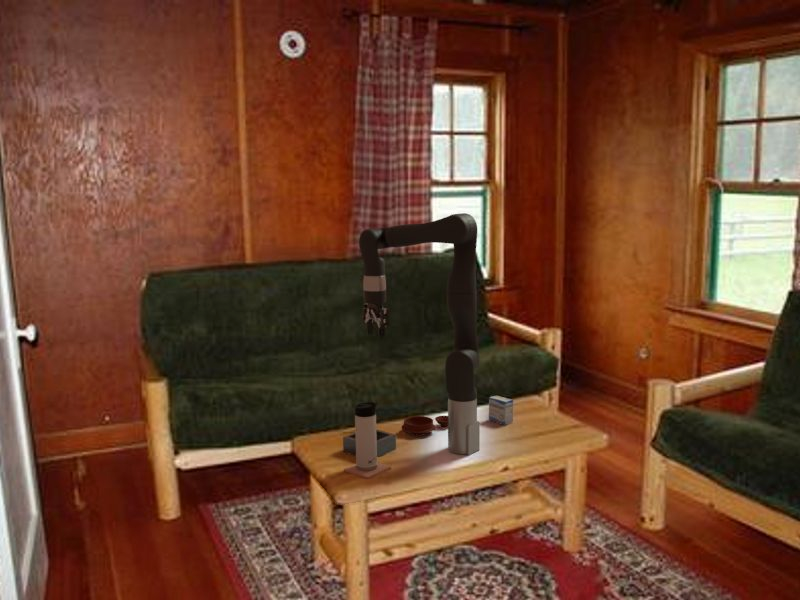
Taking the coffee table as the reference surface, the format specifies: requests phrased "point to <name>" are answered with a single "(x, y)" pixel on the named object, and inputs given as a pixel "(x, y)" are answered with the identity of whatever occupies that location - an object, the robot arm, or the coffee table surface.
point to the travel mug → (366, 436)
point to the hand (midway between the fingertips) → (375, 336)
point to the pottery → (423, 424)
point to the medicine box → (500, 410)
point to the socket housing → (384, 443)
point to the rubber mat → (367, 474)
